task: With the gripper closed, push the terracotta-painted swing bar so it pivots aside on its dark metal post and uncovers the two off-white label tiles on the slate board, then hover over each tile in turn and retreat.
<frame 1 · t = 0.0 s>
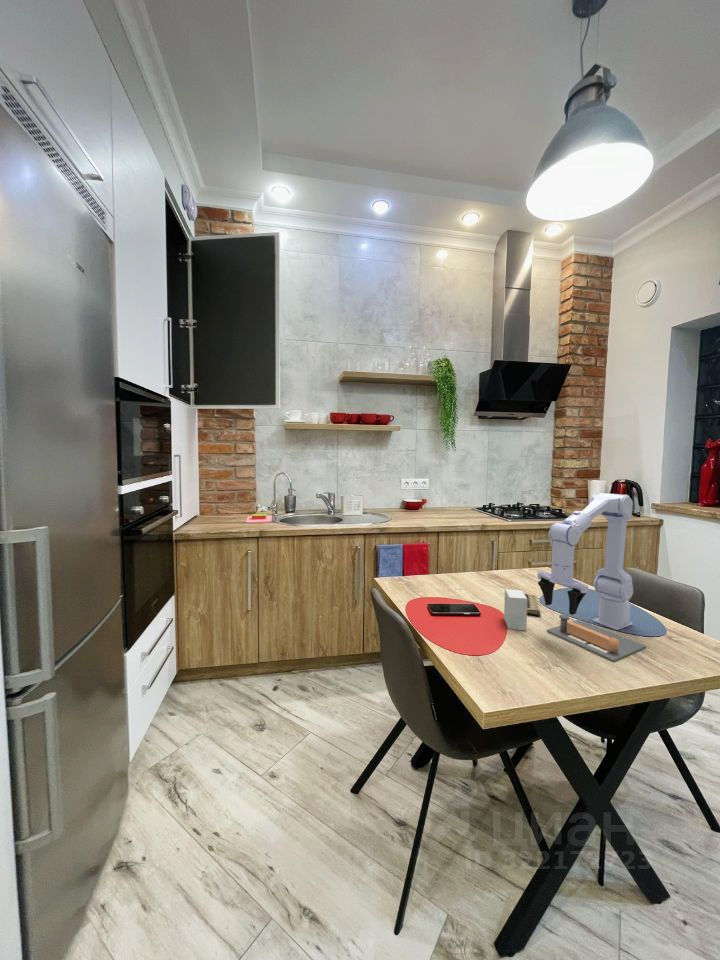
hand: (560, 609, 112), 10 cm above the table, fingers open, 7 cm apart
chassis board: (594, 639, 115), on the table
small box: (514, 625, 124), on the table
brown flat block: (526, 609, 139), on the table
swing bar: (591, 636, 111), point 3 cm above the table, hinge at 0.0°
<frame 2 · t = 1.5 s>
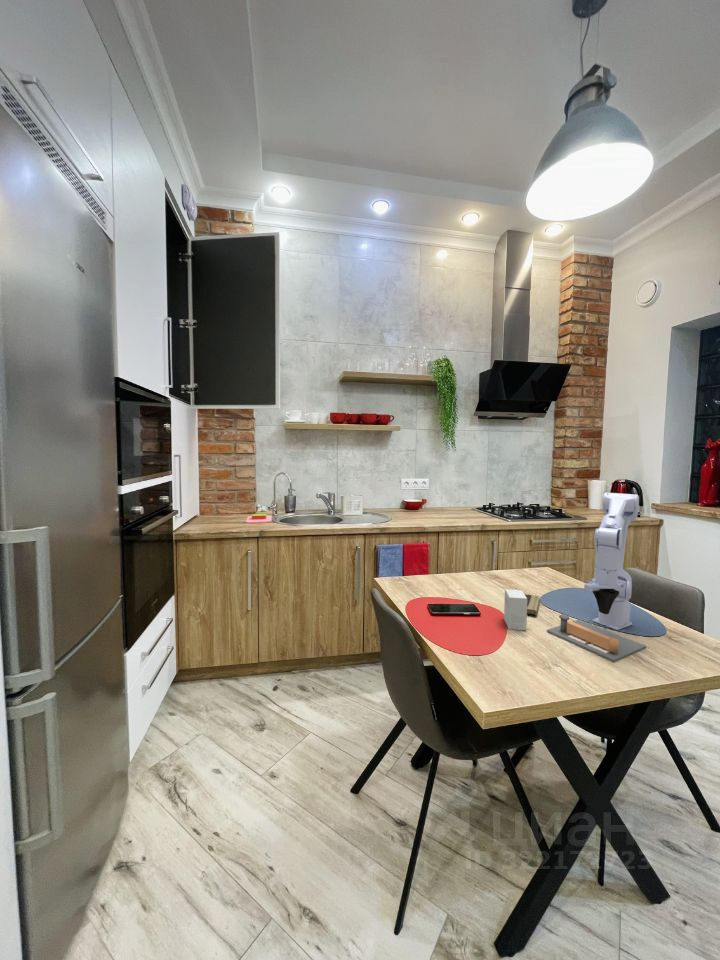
hand: (603, 612, 113), 9 cm above the table, fingers closed
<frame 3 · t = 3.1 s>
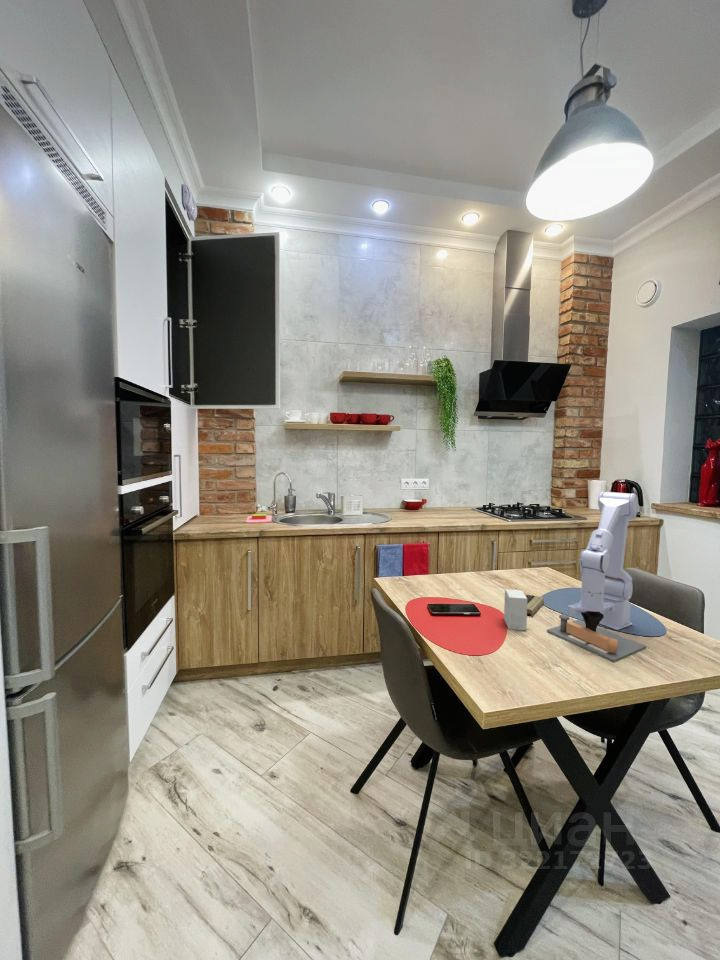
hand: (590, 635, 113), 2 cm above the table, fingers closed, pressing on swing bar
swing bar: (591, 636, 111), point 3 cm above the table, hinge at 2.4°, touching gripper
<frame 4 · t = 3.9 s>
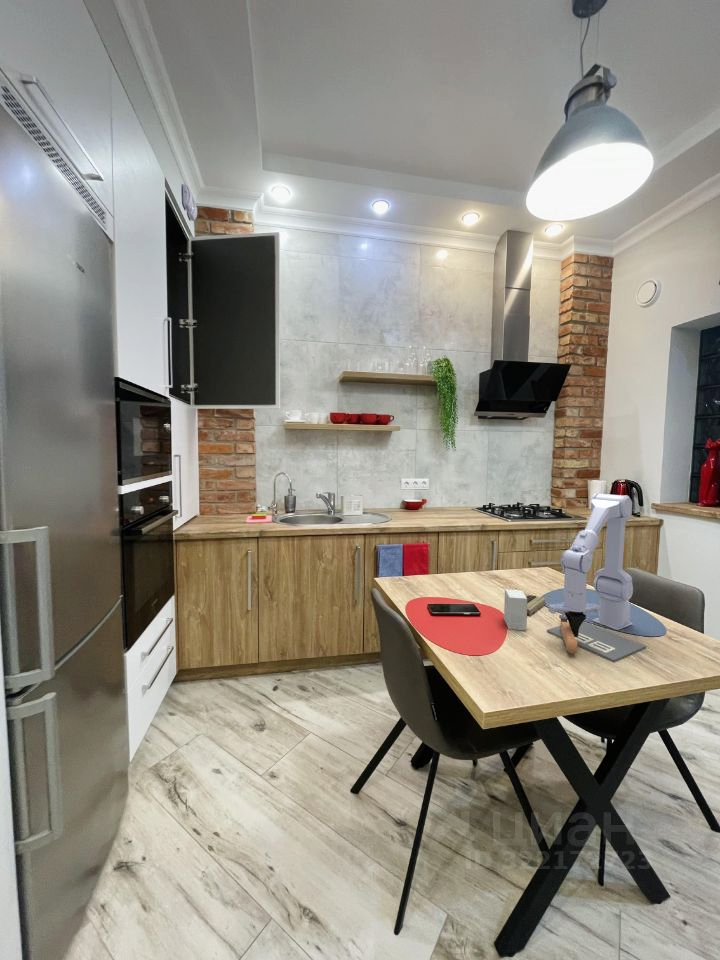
hand: (573, 635, 113), 2 cm above the table, fingers closed, pressing on swing bar
swing bar: (568, 636, 111), point 3 cm above the table, hinge at 49.0°, touching gripper
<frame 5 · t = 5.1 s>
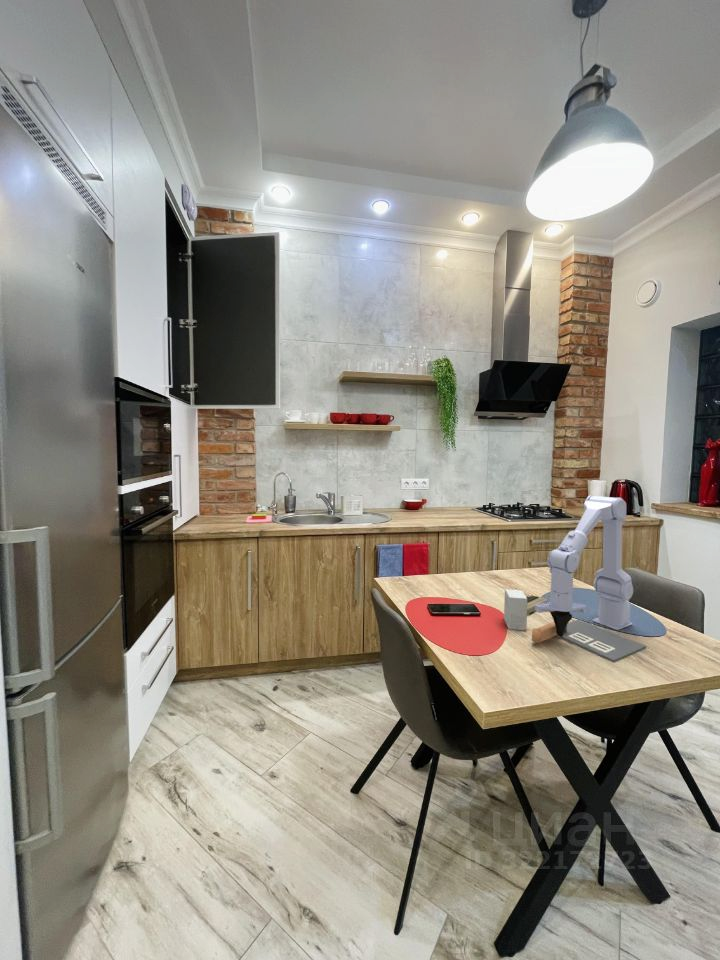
hand: (559, 635, 113), 2 cm above the table, fingers closed
swing bar: (548, 630, 114), point 3 cm above the table, hinge at 85.9°, touching gripper
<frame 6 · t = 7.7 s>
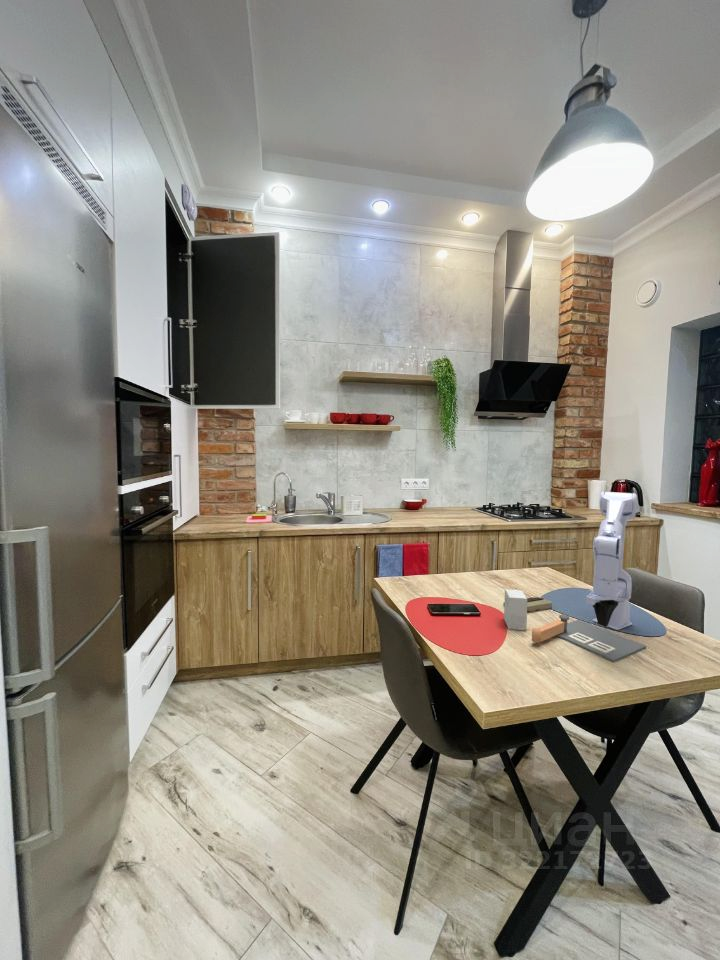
hand: (602, 624, 108), 7 cm above the table, fingers closed
swing bar: (547, 630, 114), point 3 cm above the table, hinge at 86.0°
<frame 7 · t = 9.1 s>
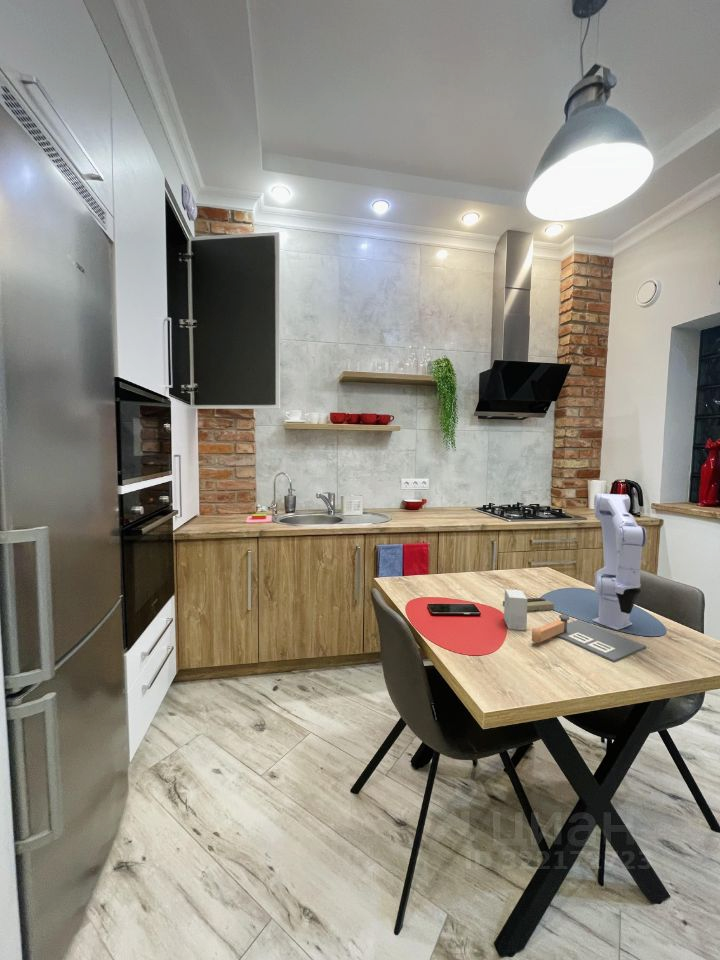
hand: (625, 612, 111), 10 cm above the table, fingers closed
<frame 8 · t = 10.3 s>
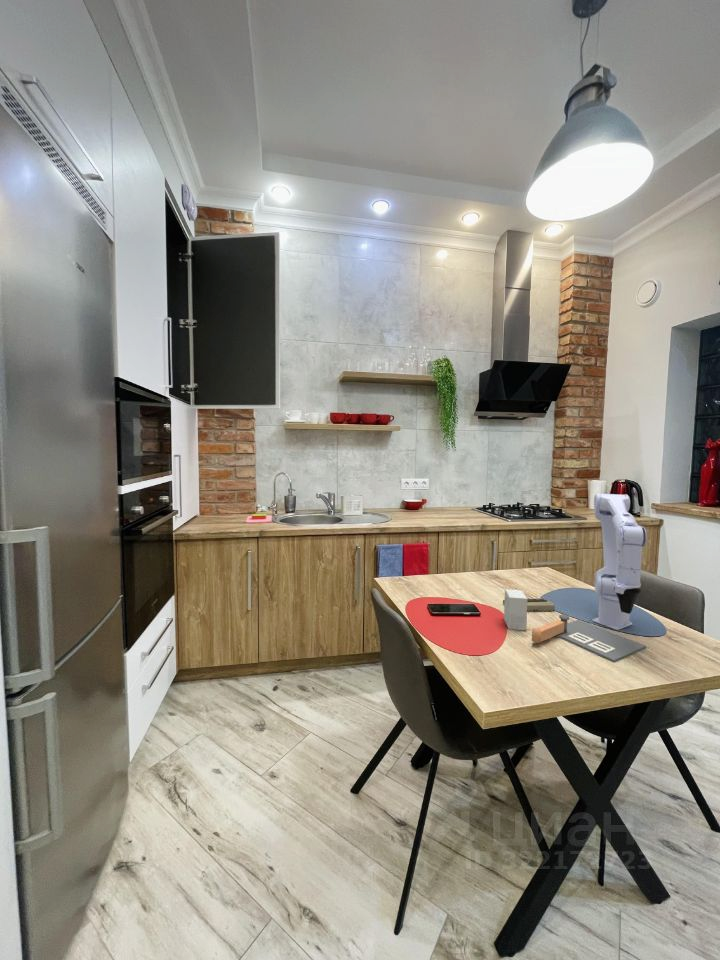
hand: (625, 612, 111), 10 cm above the table, fingers closed
at the end: swing bar at +86° (first picture: +0°) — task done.
